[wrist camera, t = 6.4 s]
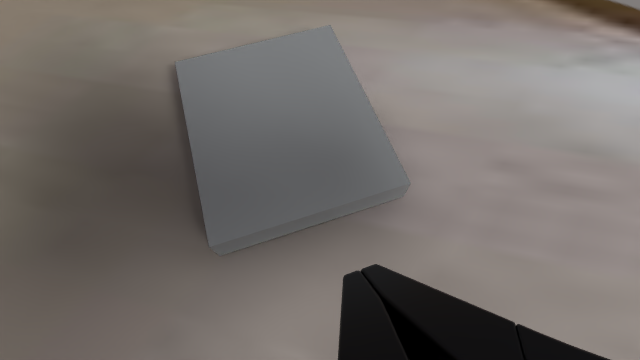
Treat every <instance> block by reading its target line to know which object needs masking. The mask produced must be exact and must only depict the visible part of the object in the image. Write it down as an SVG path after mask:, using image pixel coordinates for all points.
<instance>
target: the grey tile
mask: <svg viewBox="0 0 640 360" xmlns="http://www.w3.org/2000/svg"><path fill="white" fill-rule="evenodd" d="M175 66H176V71H177V76H178V82H179V87H180V93H181V98H182V103H183V109H184V114H185V120H186V125H187V131H188V136H189V141H190V147H191V152H192V158H193V163H194V168H195V174H196V179H197V185H198V190H199V196H200V201H201V206H202V212H203V217H204V223H205V228H206V233H207V239H208V244H209V248H211V249H212V250H213V251H214V252H216V253H217V254H218V255H219V256H221V255H224V254H228V253H231V252H234V251H237V250H240V249H243V248H246V247H249V246H252V245H255V244H259V243H262V242H265V241H268V240H271V239H274V238H277V237H280V236H283V235H286V234H290V233H293V232H296V231H299V230H302V229H305V228H308V227H311V226H314V225H317V224H321V223H324V222H327V221H330V220H333V219H336V218H339V217H342V216H345V215H348V214H352V213H355V212H358V211H361V210H364V209H367V208H370V207H373V206H376V205H379V204H383V203H386V202H389V201H392V200H395V199H398V198H401V197H403V196H404V194H405V193H406V191H407V189H408V187H409V185H410V184H411V183H410V181H409V179H408V177H407V175H406V173H405V171H404V169H403V167H402V165H401V163H400V161H399V159H398V157H397V155H396V153H395V151H394V149H393V147H392V145H391V143H390V141H389V139H388V137H387V136H386V134H385V132H384V130H383V128H382V126H381V124H380V122H379V120H378V118H377V116H376V114H375V112H374V110H373V108H372V106H371V104H370V102H369V100H368V98H367V96H366V94H365V92H364V90H363V88H362V86H361V84H360V82H359V80H358V78H357V76H356V74H355V73H354V71H353V69H352V67H351V65H350V63H349V61H348V59H347V57H346V55H345V53H344V51H343V49H342V47H341V45H340V43H339V41H338V39H337V37H336V35H335V33H334V31H333V29H332V27H331V25H328V26H324V27H320V28H315V29H311V30H307V31H303V32H299V33H294V34H290V35H286V36H282V37H278V38H274V39H269V40H265V41H261V42H257V43H253V44H249V45H244V46H240V47H236V48H232V49H228V50H223V51H219V52H215V53H211V54H207V55H203V56H198V57H194V58H190V59H186V60H182V61H178V62H175Z"/></svg>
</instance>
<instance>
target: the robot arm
mask: <svg viewBox="0 0 640 360" xmlns="http://www.w3.org/2000/svg"><path fill="white" fill-rule="evenodd" d="M338 360H610V359H607V358H604V357H602V356H599V355H596V354H593V353H590V352H588V351H585V350H582V349H579V348H576V347H574V346H571V345H569V344H566V343H564V342H561V341H559V340H556V339H554V338H551V337H549V336H546V335H544V334H541V333H539V332H537V331H534V330H532V329H530V328H527V327H525V326H522V325H520V324H517V325H515V323H514V322H513V321H510V320H508V319H505V318H503V317H501V316H498V315H496V314H494V313H491V312H489V311H487V310H484V309H482V308H479V307H477V306H475V305H472V304H470V303H468V302H465V301H463V300H461V299H458V298H456V297H453V296H451V295H449V294H446V293H444V292H442V291H439V290H437V289H435V288H432V287H430V286H427V285H425V284H423V283H420V282H418V281H416V280H413V279H411V278H409V277H406V276H404V275H401V274H399V273H397V272H394V271H392V270H390V269H387V268H385V267H383V266H380V265H377V264H374V265H371V266H369V267H366V268H363V269H362V270H361V272H360V271H355V272H352V273H349V274H346V275H344V277H343V289H342V304H341V319H340V335H339V350H338Z"/></svg>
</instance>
